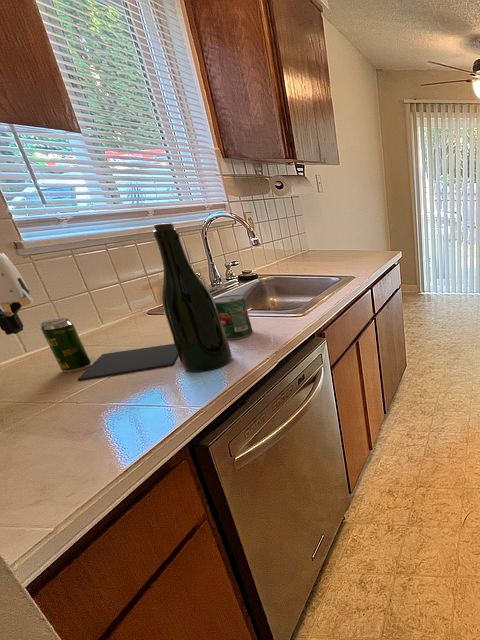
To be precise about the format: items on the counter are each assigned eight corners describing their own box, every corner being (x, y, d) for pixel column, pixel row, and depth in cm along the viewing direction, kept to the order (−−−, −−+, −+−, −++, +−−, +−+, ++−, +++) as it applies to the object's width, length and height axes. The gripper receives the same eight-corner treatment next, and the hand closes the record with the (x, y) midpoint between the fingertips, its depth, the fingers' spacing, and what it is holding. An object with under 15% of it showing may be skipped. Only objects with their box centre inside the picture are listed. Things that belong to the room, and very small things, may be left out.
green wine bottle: (186, 360, 100) (137, 222, 87) (233, 352, 105) (194, 220, 91) (180, 376, 92) (125, 227, 78) (232, 367, 96) (189, 223, 83)
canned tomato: (216, 339, 114) (204, 301, 109) (236, 329, 121) (225, 294, 116) (240, 340, 113) (229, 302, 108) (259, 330, 120) (249, 295, 115)
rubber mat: (78, 380, 91) (77, 378, 91) (103, 355, 104) (102, 353, 104) (172, 365, 98) (172, 363, 98) (184, 343, 111) (184, 342, 111)
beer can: (82, 362, 100) (61, 317, 95) (97, 364, 99) (76, 318, 94) (56, 371, 96) (32, 324, 91) (71, 374, 94) (48, 326, 89)
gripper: (-97, 255, 76) (-42, 344, 84) (8, 248, 82) (50, 331, 90) (-69, 250, 83) (-21, 332, 90) (27, 243, 88) (65, 322, 96)
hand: (15, 332), depth 90 cm, fingers closed
